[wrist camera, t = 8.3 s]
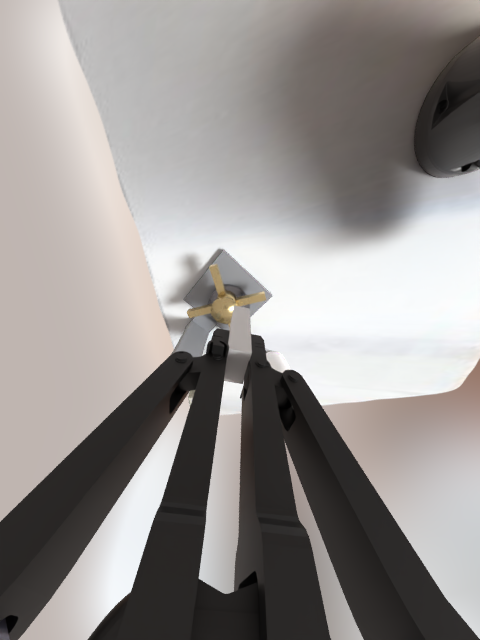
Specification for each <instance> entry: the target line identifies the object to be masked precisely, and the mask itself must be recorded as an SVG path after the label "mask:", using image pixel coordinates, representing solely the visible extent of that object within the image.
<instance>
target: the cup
mask: <svg viewBox="0 0 480 640" xmlns="http://www.w3.org/2000/svg"><path fill="white" fill-rule="evenodd" d="M266 358H267V361H268V362H269V363H270V365H271V367H272V368H273V369H275V370H277V371H279V372H281V373H283V372H284V371H285V370H291V369H290V367H289V366H288V364H287V362H286V360H285V358H284V356H283V355H282V354H281V353H279V352H275V351H271V352H267V353H266Z"/></svg>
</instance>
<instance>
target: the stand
mask: <svg viewBox="0 0 480 640" xmlns="http://www.w3.org/2000/svg"><path fill="white" fill-rule="evenodd" d="M214 264H218V267H219V270H220V273H221V277H222V280H223V283H224V285H234V286H237V287H239V288H241V289H242V290H243V291H244V292H245V293H246V294H247V295H250V294H254V293H258V292H263V291H264V292H265V296H266V300H265V301H261V302H256V303H252V304H250V317H251V316H252V315H253V314H254V313H255V312H256V311H257V310H258V309H259V308H260V307H262V306H263V305H264V304H265V303H266V302H267V301H268V300H269V299H270V298H271V297H272V294H271V293H270V292H269V291H268V290H267V289H266V288H265V287H263V286H262V285H261V284H260V283H259V282H258V281H257V280H256V279H255V278H254V277H253V276H252V275H251V274H250V273H248V272H247V271H246V270H245V269H244V268H243V267H242V266H241V265H240V264H239V263H238V262H237V261H236V260H235V259H234V258H232V257H231V256H230V255H229V254H228V253H227V252H226V251H225V250H223V251H222V252H221V254H220V255H219V256H218V257H217V259H216V260H215V261H214V262H213V264H212V265H214ZM215 289H216V287H215V284H214V281H213V278H212V275H211V272H210V269H209V268H208V270H207V271H206V272H205V273H204V275H203V276H202V277H201V278H200V280H199V281H198V282H197V283H196V285H195V286H194V287H193V288H192V290H191V291H190V292H189V293H188V294H187V296H186V297H185V298H184V299H183V300H184V301H186V302H187V303H188V304H190V305H191V306H192V307H194V308H196V307H200V306H205V305H208V302H209V298H210V296H211V294H212V293H213V291H214V290H215ZM216 325H217V326H219V327H220V328H221V329H224V330H229V326H228V325H227V324H223V323H219V322H217V321H216V320H215V319H214V318H213V317H212V315H211V314H210V313H209V314H205V315H201V316H197V317H194V318H193V319H192V320H191V322H190V323H189V324H188V325H187V326H186V328H185V331H184V333H183V335H182V336H181V338H180V340H179V342H178V344H177V345H176V347H175V349H174V351H173V352H172V354H173V353H175V352H178V351H185V352H188V353H190V354H191V355H192V356H193V357H200V356H202V353H203V350H204V346H205V343H206V340H207V337H208V334H209V332H210V331H211V330H212V329H213V328H214V327H215V326H216ZM172 354H171V355H172Z"/></svg>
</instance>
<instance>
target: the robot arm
mask: <svg viewBox="0 0 480 640" xmlns="http://www.w3.org/2000/svg"><path fill="white" fill-rule="evenodd" d="M415 152H416V156H417V160H418V162H419V164H420V165H421V167H422V168H423V169H424V170H425V171H426V172H427V173H429V174H430V175H432V176H435V177H440V178H449V177H454V176H458V175H463V174H467V173H470V172H473V171H476V170H478V169H480V36H479V37H478V38H477V39H475V40H474V41H473V42H472V43H470V44H469V45H468V46H467V47H465V48H464V49H463V50H462V51H461V52H460V53H458V54H457V55H456V56H455V57H454V58H453V59H452V60H451V62H450V63H449V64H448V65H447V66H446V67H445V69H444V70H443V71H442V73H441V74H440V75H439V77H438V78H437V80H436V81H435V83H434V84H433V86H432V88H431V89H430V91H429V93H428V95H427V97H426V99H425V101H424V103H423V106H422V108H421V111H420V114H419V117H418V121H417V125H416V131H415ZM224 381H228V382H234V383H240V384H243V381H244V386H243V389H242V392H241V396H240V398H242V421H241V462H240V464H241V465H240V502H239V538H238V546H237V553H236V561H235V581H234V592H232V593H230V594H224V593H222V592H220V591H218V590H216V589H215V588H213V587H211V586H210V585H208V584H206V583H205V582H203V581H201V580H200V579H198V577H199V570H200V563H201V555H202V548H203V540H204V532H205V524H206V509H207V500H208V493H209V486H210V479H211V471H212V464H213V456H214V449H215V442H216V435H217V427H218V420H219V413H220V405H221V398H222V391H223V383H224ZM192 390H195V393H194V396H193V399H192V403H191V406H190V409H189V413H188V416H187V419H186V423H185V426H184V429H183V432H182V436H181V439H180V442H179V446H178V449H177V452H176V456H175V459H174V463H173V466H172V469H171V472H170V476H169V479H168V482H167V485H166V489H165V492H164V495H163V499H162V502H161V504H160V507H159V508H158V511H157V513H156V515H155V518H154V520H153V523H152V527H151V530H150V533H149V536H148V539H147V542H146V545H145V549H144V552H143V555H142V559H141V562H140V565H139V568H138V571H137V575H136V578H135V581H134V584H133V588H132V591H131V593H129V594H128V595H127V596H125V597H124V598H123V599H122V600H121V601H120V602H119V603H118V604H117V605H116V606H115V607H114V608H113V609H112V610H111V611H110V612H109V613H108V615H107V616H106V617H105V618H104V619H103V620H102V622H101V623H100V624H99V626H98V627H97V628H96V629H95V631H94V632H93V633H92V635H91V636H90V637H89V639H88V640H331V638H330V635H329V630H328V625H327V621H326V615H325V610H324V605H323V601H322V595H321V591H320V586H319V581H318V576H317V571H316V566H315V561H314V556H313V551H312V547H311V543H310V539H309V536H308V534H307V531H306V529H305V528H304V526H303V525H302V524H301V523H300V521H299V518H298V515H297V511H296V505H295V499H294V494H293V489H292V482H291V476H290V471H289V465H288V460H287V454H286V448H285V443H286V445H287V448H288V450H289V453H290V456H291V458H292V461H293V464H294V466H295V469H296V471H297V474H298V476H299V479H300V481H301V484H302V487H303V489H304V492H305V494H306V497H307V500H308V502H309V505H310V507H311V510H312V513H313V515H314V518H315V520H316V523H317V526H318V528H319V530H320V533H321V536H322V539H323V541H324V544H325V546H326V549H327V552H328V554H329V557H330V559H331V562H332V564H333V567H334V570H335V572H336V575H337V577H338V580H339V582H340V585H341V588H342V590H343V593H344V595H345V598H346V600H347V603H348V605H349V607H350V610H351V612H352V615H353V617H354V619H355V622H356V624H357V626H358V628H359V630H360V632H361V634H362V637H363V639H364V640H480V639H479V638H478V637H477V635H476V634H475V633H474V632H473V631H472V629H471V628H470V627H469V626H468V625H467V623H466V622H465V621H464V620H463V619H462V618H461V616H460V615H459V614H458V613H457V611H456V610H455V609H454V608H453V607H452V605H451V604H450V603H449V602H448V601H447V599H446V598H445V597H444V595H443V594H442V592H441V591H440V589H439V587H438V586H437V584H436V583H435V581H434V580H433V578H432V577H431V575H430V574H429V572H428V570H427V569H426V567H425V566H424V564H423V563H422V561H421V560H420V558H419V556H418V555H417V554H416V552H415V551H414V549H413V547H412V546H411V544H410V543H409V541H408V540H407V538H406V536H405V535H404V533H403V532H402V530H401V529H400V527H399V526H398V524H397V523H396V521H395V519H394V518H393V516H392V515H391V513H390V512H389V510H388V509H387V507H386V505H385V504H384V502H383V501H382V499H381V498H380V496H379V495H378V493H377V492H376V490H375V488H374V487H373V486H372V484H371V482H370V481H369V479H368V478H367V476H366V474H365V473H364V471H363V470H362V468H361V467H360V465H359V464H358V462H357V461H356V459H355V457H354V456H353V454H352V453H351V451H350V450H349V448H348V447H347V445H346V444H345V442H344V441H343V439H342V437H341V436H340V434H339V433H338V432H337V430H336V428H335V426H334V425H333V423H332V422H331V420H330V419H329V417H328V416H327V414H326V413H325V411H324V409H323V408H322V406H321V405H320V403H319V402H318V400H317V399H316V397H315V396H314V394H313V392H312V391H311V389H310V388H309V386H308V385H307V383H306V382H305V380H304V379H303V377H302V376H301V375H300V374H299V373H298V372H296V371H294V370H285V371H284V372H283V373H281V372H279V371H277V370H275V369H273V368H272V367H271V365H270V363H269V362H268V361H267V358H266V351H265V345H264V340H263V339H262V337H261V336H258V335H252V334H251V325H250V309H249V308H244V307H239V306H234V308H233V313H232V318H231V323H230V327H229V330H224V329H219V328H217V329H216V330H215V331H214V333H213V336H212V340H211V341H209V342H208V345H207V352H206V354H205V355H203V356H200V357H193V356H192V355H191V354H190V353H188V352H185V351H178V352H175V353H173V354H172V355H170V356H169V357H168V358H167V359H166V360H165V361H164V362H163V363H162V364H161V365H160V366H159V367H158V368H157V369H156V370H155V371H154V372H153V373H152V374H151V375H150V376H149V377H148V378H147V379H146V380H145V381H144V382H143V383H142V384H141V385H140V386H139V387H138V388H137V389H136V390H135V391H134V392H133V393H132V394H131V395H130V396H129V397H127V398H126V399H125V400H124V401H123V402H122V403H121V404H120V405H119V406H118V407H117V408H116V409H115V410H114V411H113V412H112V413H111V414H110V415H109V416H108V417H107V418H106V419H105V420H104V421H103V422H102V423H101V424H100V425H99V426H98V427H97V428H96V429H95V430H94V431H93V432H92V433H91V434H90V435H89V436H88V437H87V438H86V439H85V440H83V442H82V443H80V445H78V446H77V447H76V448H75V449H74V450H73V451H72V452H71V453H70V454H69V455H68V456H67V457H66V458H65V459H64V460H63V461H62V462H61V463H60V464H59V465H58V466H57V467H56V468H55V469H54V470H53V471H52V472H51V473H50V474H49V475H48V476H47V477H46V478H45V479H44V480H43V481H42V482H41V483H40V484H38V485H37V486H36V488H34V489H33V490H32V491H31V492H30V493H29V494H28V495H27V496H26V497H25V498H24V499H23V500H22V501H21V502H20V503H19V504H18V505H17V506H16V507H15V508H14V509H13V510H12V511H11V512H10V513H9V514H8V515H7V516H6V517H5V518H4V519H3V520H2V521H1V522H0V640H18V639H19V638H20V637H21V635H22V634H23V633H24V632H25V631H26V630H27V628H28V627H29V626H30V624H31V623H32V622H33V621H34V619H35V618H36V617H37V616H38V614H39V613H40V611H41V610H42V609H43V608H44V607H45V605H46V604H47V603H48V602H49V600H50V599H51V598H52V596H53V595H54V593H55V592H56V590H57V589H58V587H59V586H60V585H61V583H62V582H63V580H64V579H65V578H66V576H67V575H68V573H69V572H70V571H71V569H72V568H73V566H74V565H75V563H76V562H77V560H78V558H79V557H80V555H81V554H82V553H83V551H84V550H85V548H86V547H87V545H88V544H89V542H90V541H91V539H92V538H93V536H94V535H95V533H96V532H97V530H98V528H99V527H100V525H101V524H102V522H103V521H104V519H105V518H106V516H107V515H108V513H109V512H110V510H111V509H112V507H113V506H114V504H115V503H116V501H117V500H118V498H119V497H120V495H121V494H122V492H123V491H124V489H125V488H126V486H127V485H128V483H129V482H130V480H131V479H132V477H133V476H134V474H135V473H136V471H137V470H138V468H139V467H140V465H141V464H142V462H143V461H144V459H145V458H146V456H147V455H148V453H149V452H150V450H151V449H152V447H153V445H154V444H155V443H156V441H157V440H158V438H159V436H160V435H161V434H162V432H163V430H164V429H165V428H166V426H167V425H168V423H169V422H170V420H171V418H172V417H173V415H174V414H175V412H176V411H177V409H178V408H179V406H180V405H181V403H182V402H183V400H184V399H185V397H186V396H187V394H188V393H189V391H192ZM284 440H285V442H284Z"/></svg>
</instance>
